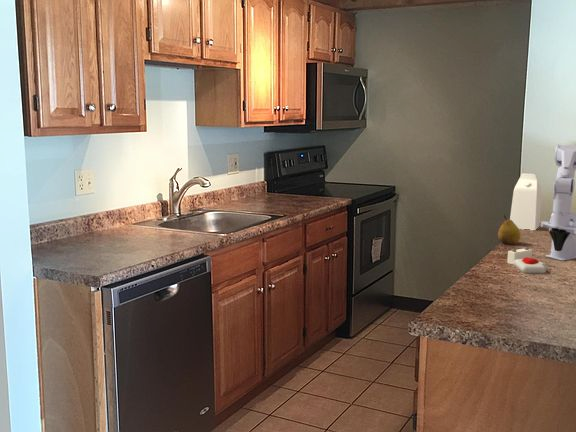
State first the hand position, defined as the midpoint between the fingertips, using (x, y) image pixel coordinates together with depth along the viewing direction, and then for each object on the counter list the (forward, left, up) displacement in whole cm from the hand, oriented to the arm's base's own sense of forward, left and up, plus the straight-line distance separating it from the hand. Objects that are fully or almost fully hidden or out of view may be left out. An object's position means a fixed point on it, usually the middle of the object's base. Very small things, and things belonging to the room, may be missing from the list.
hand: (558, 250), depth 225 cm
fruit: (-25, -42, -9) cm, 49 cm away
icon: (+2, -8, -9) cm, 13 cm away
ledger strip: (-2, -18, -8) cm, 20 cm away
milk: (-60, -63, -9) cm, 87 cm away
